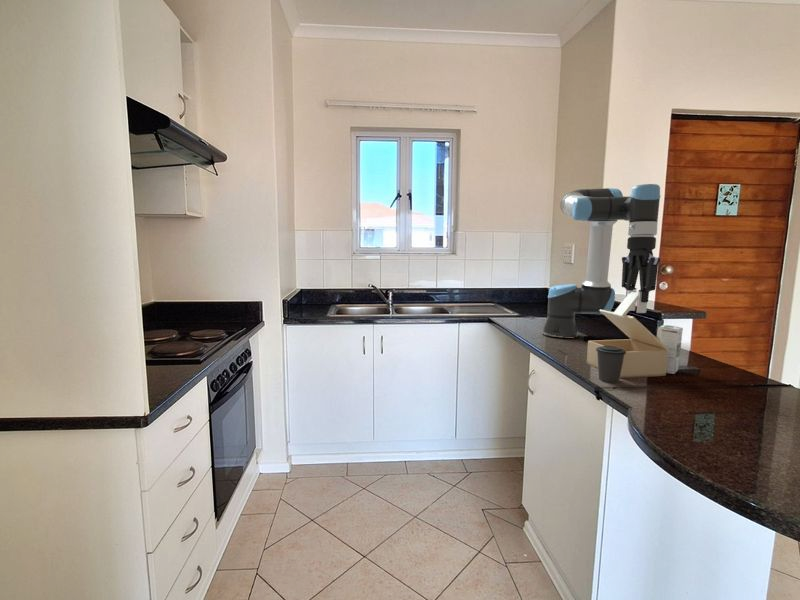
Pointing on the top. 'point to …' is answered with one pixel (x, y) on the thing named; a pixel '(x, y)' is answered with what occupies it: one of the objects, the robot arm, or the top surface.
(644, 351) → the carton
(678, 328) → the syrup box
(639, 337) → the lid flap
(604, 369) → the coffee cup
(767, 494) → the top surface
